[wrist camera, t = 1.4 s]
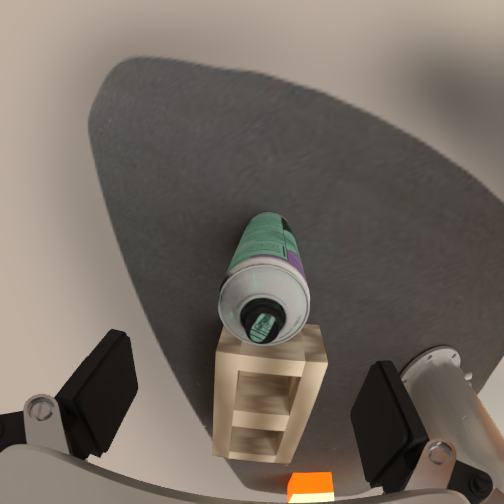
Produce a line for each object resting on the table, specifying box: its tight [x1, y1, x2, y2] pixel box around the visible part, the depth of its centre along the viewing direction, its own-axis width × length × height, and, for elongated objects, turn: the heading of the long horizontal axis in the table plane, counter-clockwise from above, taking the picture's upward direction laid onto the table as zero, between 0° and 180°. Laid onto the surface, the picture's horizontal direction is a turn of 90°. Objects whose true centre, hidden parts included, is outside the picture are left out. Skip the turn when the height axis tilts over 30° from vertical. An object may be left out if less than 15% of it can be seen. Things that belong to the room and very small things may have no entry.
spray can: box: [218, 212, 310, 346], centre depth 23 cm, size 6×6×20 cm
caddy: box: [213, 324, 328, 463], centre depth 35 cm, size 12×22×8 cm, turn 174°
